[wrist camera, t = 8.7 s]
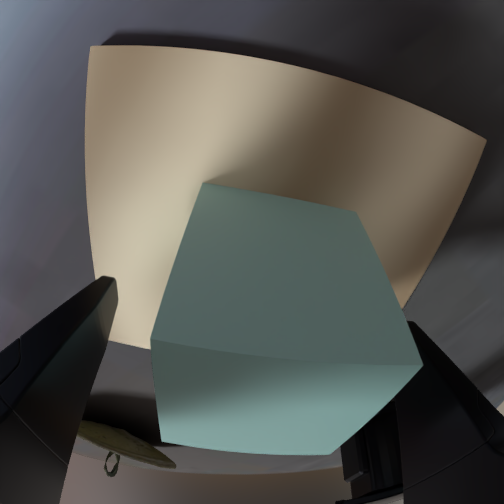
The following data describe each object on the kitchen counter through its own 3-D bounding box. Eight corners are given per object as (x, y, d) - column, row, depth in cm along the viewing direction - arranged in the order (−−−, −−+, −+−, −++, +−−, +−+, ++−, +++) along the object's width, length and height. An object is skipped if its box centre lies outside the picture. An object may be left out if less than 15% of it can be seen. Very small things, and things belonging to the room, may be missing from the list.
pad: (477, 134, 9) (487, 140, 8) (354, 365, 16) (356, 373, 16) (99, 45, 7) (90, 46, 7) (110, 330, 15) (107, 339, 14)
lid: (199, 428, 22) (192, 486, 18) (160, 453, 27) (153, 496, 23) (68, 378, 19) (47, 437, 15) (62, 416, 24) (48, 459, 20)
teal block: (355, 211, 10) (423, 365, 5) (311, 316, 13) (329, 454, 8) (202, 182, 10) (150, 338, 5) (190, 298, 13) (161, 441, 8)
